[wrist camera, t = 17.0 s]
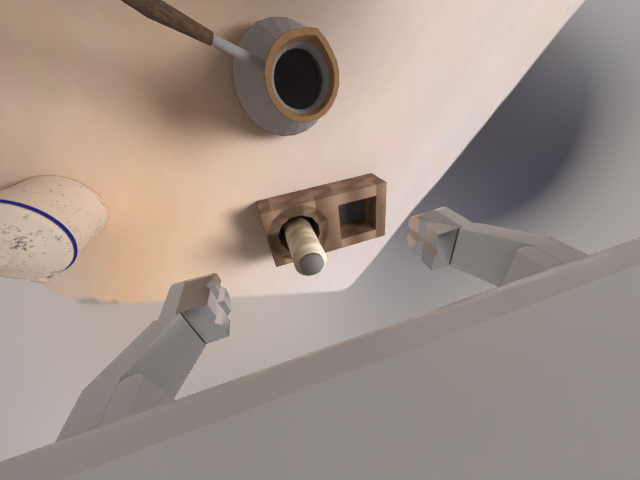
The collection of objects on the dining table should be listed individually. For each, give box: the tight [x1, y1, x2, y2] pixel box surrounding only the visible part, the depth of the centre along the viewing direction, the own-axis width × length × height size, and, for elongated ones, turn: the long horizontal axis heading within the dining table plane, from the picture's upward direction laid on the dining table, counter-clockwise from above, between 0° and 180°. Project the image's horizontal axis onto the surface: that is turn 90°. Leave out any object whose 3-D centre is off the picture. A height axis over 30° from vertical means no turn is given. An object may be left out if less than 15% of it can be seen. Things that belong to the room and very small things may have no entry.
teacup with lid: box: [0, 175, 108, 283], centre depth 26 cm, size 12×9×12 cm
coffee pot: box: [121, 0, 339, 136], centre depth 21 cm, size 21×12×15 cm, turn 70°
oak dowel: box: [282, 215, 327, 276], centre depth 35 cm, size 4×4×13 cm
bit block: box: [257, 173, 387, 267], centre depth 39 cm, size 20×10×5 cm, turn 99°
